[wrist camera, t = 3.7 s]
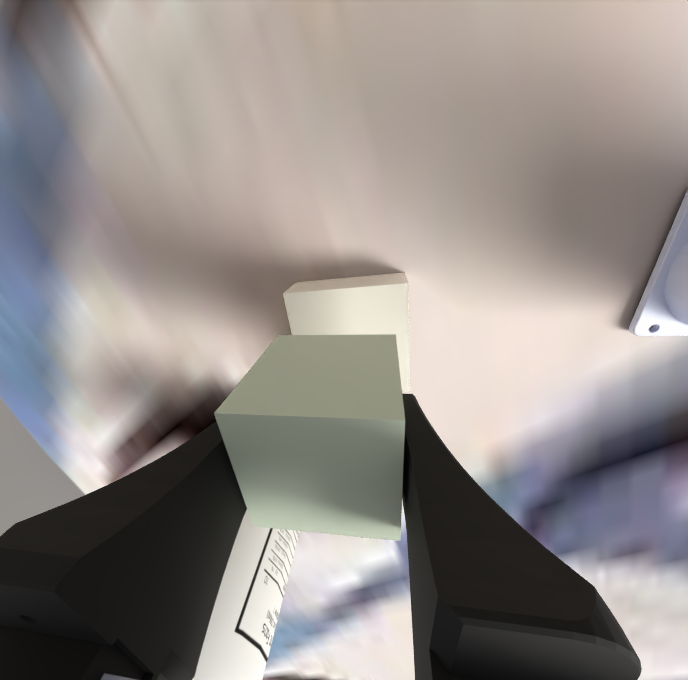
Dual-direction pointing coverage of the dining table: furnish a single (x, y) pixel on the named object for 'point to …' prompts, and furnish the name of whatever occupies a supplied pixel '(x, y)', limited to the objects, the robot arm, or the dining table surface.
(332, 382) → the green cube
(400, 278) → the cream box
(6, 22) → the dining table surface
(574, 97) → the dining table surface
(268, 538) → the supplement can
